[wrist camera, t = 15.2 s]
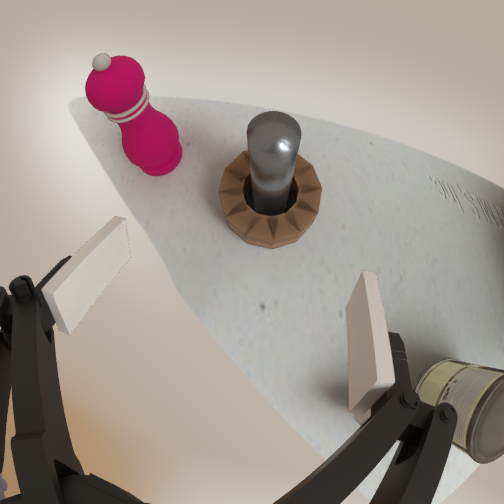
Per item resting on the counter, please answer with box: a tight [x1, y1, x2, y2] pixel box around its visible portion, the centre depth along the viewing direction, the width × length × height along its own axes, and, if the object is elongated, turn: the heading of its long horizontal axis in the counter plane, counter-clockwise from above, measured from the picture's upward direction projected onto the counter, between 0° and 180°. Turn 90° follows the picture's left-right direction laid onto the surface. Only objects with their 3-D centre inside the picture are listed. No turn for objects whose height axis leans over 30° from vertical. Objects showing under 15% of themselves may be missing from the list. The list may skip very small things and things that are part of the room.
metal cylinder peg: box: [247, 111, 301, 217], centre depth 28 cm, size 4×4×16 cm
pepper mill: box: [85, 53, 182, 176], centre depth 28 cm, size 7×7×20 cm
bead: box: [218, 150, 322, 249], centre depth 34 cm, size 11×11×4 cm
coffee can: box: [415, 359, 504, 464], centre depth 24 cm, size 10×10×14 cm
